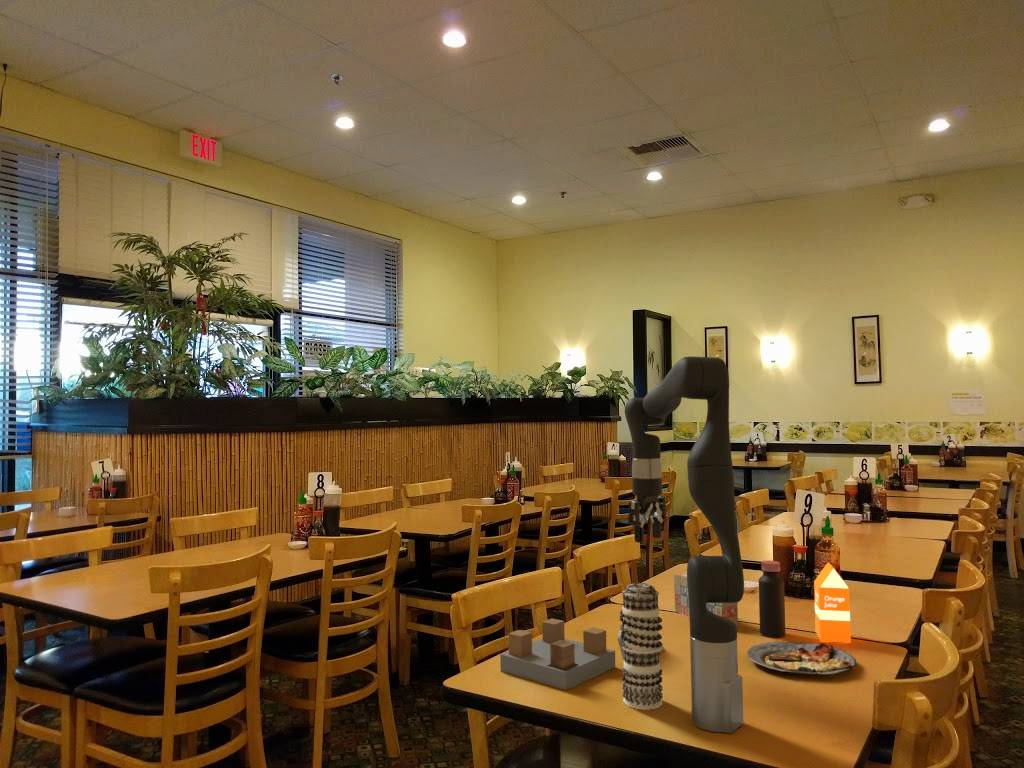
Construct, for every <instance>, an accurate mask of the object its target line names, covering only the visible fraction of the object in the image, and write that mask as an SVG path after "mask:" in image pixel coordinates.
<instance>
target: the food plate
mask: <svg viewBox="0 0 1024 768" xmlns="http://www.w3.org/2000/svg"><path fill="white" fill-rule="evenodd" d="M788 652H790V653H791V652H794V653H797V654H798V656H796V655H791V654H787V653H788ZM780 653H781V654H780ZM782 653H784V654H782ZM747 654H748V655H747V656H748V659H749V660H751V661H752V662H754V663H756V664H758V665H760V666H762V667H765V668H767V669H769V670H775V671H780V672H787V673H792V674H804V675H805V674H806V675H807V674H809V675H810V676H813V674H815V675H816V674H818V675H839V674H842V673H847V672H850V671H852V670H853V669H854V668H856V666H857V660H856V657H854V656H853V655H852V654H850V653H848V652H846V651H844V650H842V649H839V648H837V647H834V645H832V644H829V645H827V644H826V643H824V642H820V644H817V643H812V642H805V641H804V642H802V641H801V642H799V641H786V640H785V641H783V640H782V641H781V640H780V641H779V640H778V641H777V640H776V641H767V642H762V643H761V644H756V645H752V646H751V647H750V648H748V649H747ZM771 654H772V655H771ZM766 656H768V657H767V658H768V659H769V660H770V661H769V660H768V659H767V658H766ZM765 658H766V659H767V660H766V662H765ZM774 661H784V662H774Z"/></svg>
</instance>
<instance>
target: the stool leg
mask: <svg viewBox="0 0 1024 768" xmlns="http://www.w3.org/2000/svg"><path fill="white" fill-rule="evenodd" d="M550 662H551V667H553V668H557V669H560V670H564V671H566V670H568V669H570V668H572V667H575V654H574V643H572V642H568V641H564V640H559V641H556V642H554V643H551V644H550Z"/></svg>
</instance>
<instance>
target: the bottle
mask: <svg viewBox="0 0 1024 768" xmlns="http://www.w3.org/2000/svg"><path fill="white" fill-rule="evenodd" d="M761 571H762V575H761V576H760V577H759V578H758V607H759V608H758V610H759V612H758V613H759V634H761V635H762V636H764V637H768V638H774V637H775V638H777V639H778V638H783V637H785V636H786V607H785V605H786V604H785V603H786V602H785V581H784V579H783V578H782V577H781V576H780V573H781V562H780V561H776V560H763V561H761Z"/></svg>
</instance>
